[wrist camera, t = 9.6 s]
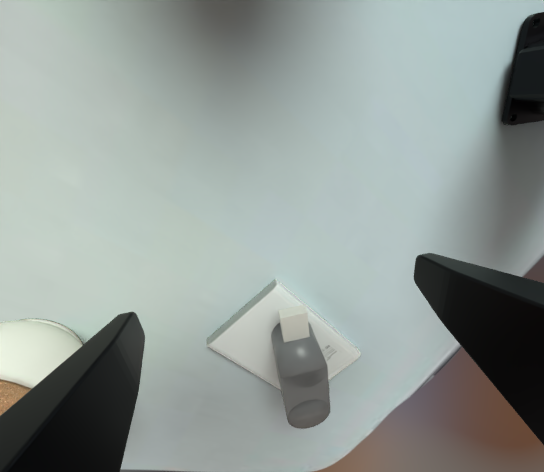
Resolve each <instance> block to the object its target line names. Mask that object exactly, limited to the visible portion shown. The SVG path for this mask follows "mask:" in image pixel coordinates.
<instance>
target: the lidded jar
mask: <svg viewBox="0 0 544 472" xmlns="http://www.w3.org/2000/svg"><path fill="white" fill-rule="evenodd" d="M82 346H83V344H82V342H81V340H80V339H79V337H78V336H77V335H76V334H75V333H74V332H73V331H71V330H70V329H68V328H67V327H65V326H63V325H61V324H59V323H56V322H53V321H49V320H44V319H22V320H16V321H4V322H0V416H1V415H2V414H3V413H4V412H5V411H6V410H8V409H9V408H10V407H11V406H12V405H13V404H15V403H16V402H17V401H18V400H19V399H20V398H22V397H23V396H24V395H25V394H26V393H28V392H29V391H30V390H31V389H32V388H33V387H35V386H36V385H37V384H38V383H39V382H40V381H42V380H43V379H44V378H45V377H46V376H47V375H49V374H50V373H51V372H52V371H53V370H55V369H56V368H57V367H58V366H59V365H60V364H62V363H63V362H64V361H65V360H66V359H67V358H69V357H70V356H71V355H72V354H73V353H74V352H76V351H77V350H78V349H79V348H80V347H82Z"/></svg>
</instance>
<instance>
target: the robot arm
mask: <svg viewBox="0 0 544 472" xmlns="http://www.w3.org/2000/svg"><path fill="white" fill-rule="evenodd" d="M533 21H534V24H533ZM532 25H533V26H532ZM511 116H512V117H511ZM510 118H511V119H510ZM542 120H544V12H542V13H536V14H533V15H530V16H528V17H527V18H526V20H525V21H524V24H523V27H522V32H521V36H520V41H519V45H518V50H517V54H516V59H515V63H514V68H513V72H512V77H511V81H510V86H509V90H508V95H507V99H506V104H505V108H504V113H503V117H502V122H503V124H504V125H516V124H523V123H529V122H536V121H542ZM414 281H415V283H416V285H417V286H418V288H419V289H420V291H421V292H422V294H423V295H424V297H425V298H426V300H427V301H428V303H429V304H430V306H431V307H432V309H433V310H434V311H435V313H436V314H437V316H438V317H439V319H440V320H441V321H442V323H443V324H444V325H445V326H446V328H447V329H448V330H449V331H450V333H451V334H452V335H453V336H454V337H455V339H456V340H457V341H458V342H459V343H460V345H461V346H462V347H463V348H464V349H465V351H466V352H467V353H468V354H469V355H470V357H471V358H472V359H473V360H474V362H475V363H476V364H477V365H478V366H479V367H480V369H481V370H482V371H483V372H484V373H485V375H486V376H487V377H488V378H489V380H490V381H491V382H492V383H493V384H494V386H495V387H496V388H497V389H498V390H499V392H500V393H501V394H502V395H503V396H504V398H505V399H506V400H507V401H508V403H509V404H510V405H511V406H512V407H513V409H515V411H516V412H517V413H518V415H519V416H520V417H521V418H522V419H523V421H524V422H525V423H526V424H527V425H528V427H529V428H530V429H531V430H532V432H533V433H534V434H535V435H536V436H537V438H538V439H539V440H540V441H541V442H542V443H543V445H544V283H542V282H538V281H534V280H530V279H527V278H523V277H519V276H515V275H511V274H508V273H504V272H500V271H496V270H493V269H489V268H485V267H481V266H478V265H474V264H470V263H466V262H462V261H459V260H455V259H451V258H447V257H444V256H440V255H436V254H432V253H427V254H422V255H419V256H417V258H416V262H415V270H414ZM144 342H145V335H144V331H143V329H142V326H141V324H140V322H139V319H138V317H137V315H136V313H134V312H128V313H123V314H120V315H118V316H117V317H116V318H114V319H113V320H112V321H111V322H110V323H109V324H107V325H106V326H105V327H104V328H103V329H102V330H100V331H99V332H98V333H97V334H96V335H94V336H93V337H92V338H91V339H90V340H89V341H87V342H86V343H85V344H84V345H83V346H82V347H80V348H79V349H78V350H77V351H76V352H74V353H73V354H72V355H71V356H70V357H69V358H67V359H66V360H65V361H64V362H63V363H62V364H60V365H59V366H58V367H57V368H56V369H55V370H53V371H52V372H51V373H50V374H49V375H47V376H46V377H45V378H44V379H43V380H42V381H40V382H39V383H38V384H37V385H36V386H35V387H33V388H32V389H31V390H30V391H29V392H28V393H26V394H25V395H24V396H23V397H22V398H20V399H19V400H18V401H17V402H16V403H15V404H13V405H12V406H11V407H10V408H9V409H8V410H6V411H5V412H4V413H3V414H2V415H1V416H0V472H120V468H121V464H122V460H123V455H124V451H125V447H126V443H127V438H128V434H129V430H130V426H131V421H132V417H133V413H134V408H135V404H136V400H137V395H138V390H139V384H140V376H141V368H142V359H143V351H144Z"/></svg>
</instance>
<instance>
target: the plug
mask: <svg viewBox="0 0 544 472" xmlns="http://www.w3.org/2000/svg"><path fill="white" fill-rule="evenodd" d="M278 312H279V319H280V323H278V324H277V325H276V326H275V327H274V329H273V331H272V335H271V338H272V344H273V349H274V355H275V361H276V366H277V372H278V378H279V382H280V387H281V392H282V396H283V401H284V405H285V410H286V415H287V419H288V422H289V424H290V425H291V426H293V427H295V428H310V427H313V426H316V425H318V424H320V423H321V422H323V421H324V420H325V419H326V418H327V417H328V415H329V413H330V398H329V382H328V367H327V363H326V361H325V358H324V356H323V353H322V351H321V349H320V346H319V344H318V341H317V339H316V336H315V334H314V332H313V329H312V327H311V325H310V323H309V322H308V314H307V311H306V308H305V306H304V305H300V306H296V307H291V308H287V309H282V310H278Z"/></svg>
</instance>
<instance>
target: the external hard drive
mask: <svg viewBox="0 0 544 472" xmlns="http://www.w3.org/2000/svg"><path fill="white" fill-rule="evenodd" d="M300 305H304V306H305V308H306V311H307V314H308V322H309V323H310V325H311V327H312V329H313V332H314V334H315V336H316V339H317V341H318V344H319V346H320V349H321V351H322V353H323V356H324V358H325V361H326V363H327V367H328V381H329V380H330V379H331V378H333V377H334V376H336V375H337V374H338V373H340V372H341V371H342V370H344V369H345V368H346V367H348V366H349V365H350V364H352V363H353V362H354V361H356V360H357V359H358V358H359V357H360V355H361V353H360V351H359V350H358V348H357V347H356V346H355V345H354V344H352V343H351V342H350V341H349V340H348V339H347V338H345V337H344V336H343V335H342V334H341V333H339V332H338V331H337V330H336V329H335V328H334V327H332V326H331V325H330V324H329V323H328V322H326V321H325V320H324V319H323V318H322V317H321V316H319V315H318V314H317V313H316V312H315V311H313V310H312V309H311V308H310V307H309V306H307V305H306V304H305V303H304V302H303V301H302V300H300V299H299V298H298V297H297V296H296V295H294V294H293V293H292V292H291V291H290V290H288V289H287V288H286V287H285V286H284V285H282V284H281V283H280V282H279V281H278V280H277V279H274V280H273V281H272V282H271V283H270V284H269V285H268V286H266V287H265V288H264V289H263V290H262V291H261V292H260V293H259V294H257V295H256V296H255V297H254V298H253V299H252V300H251V301H249V302H248V303H247V304H246V305H245V306H244V307H243V308H241V309H240V310H239V311H238V312H237V313H236V314H235V315H233V316H232V317H231V318H230V319H229V320H228V321H227V322H225V323H224V324H223V325H222V326H221V327H220V328H219V329H217V330H216V331H215V332H214V333H213V334H212V335H211V336H209V337H208V338H207V346H208V347H210V348H211V349H213V350H215V351H216V352H218V353H220V354H221V355H223V356H225V357H226V358H228V359H230V360H231V361H233V362H235V363H236V364H238V365H240V366H241V367H243V368H245V369H247V370H248V371H250V372H252V373H253V374H255V375H257V376H258V377H260V378H262V379H263V380H265V381H267V382H268V383H270V384H272V385H273V386H275V387H277V388H278V389H280V390H281V387H280V382H279V378H278V372H277V366H276V361H275V355H274V349H273V344H272V338H271V335H272V331H273V329H274V327H275V326H276V325H277V324H278V323H280V319H279V312H278V310H282V309H287V308H291V307H296V306H300Z"/></svg>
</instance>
